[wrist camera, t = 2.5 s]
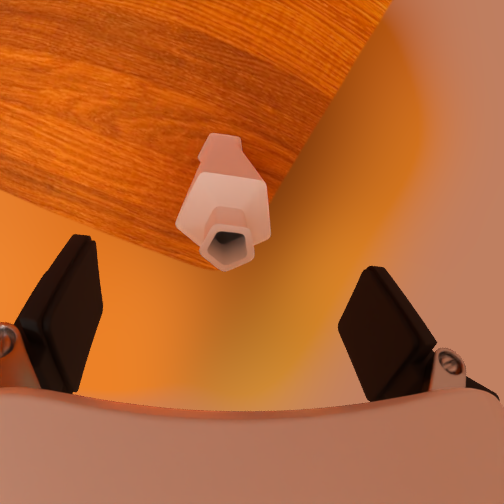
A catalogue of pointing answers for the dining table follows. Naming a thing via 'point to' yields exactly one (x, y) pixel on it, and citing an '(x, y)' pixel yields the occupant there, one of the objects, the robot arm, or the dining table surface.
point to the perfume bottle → (225, 204)
